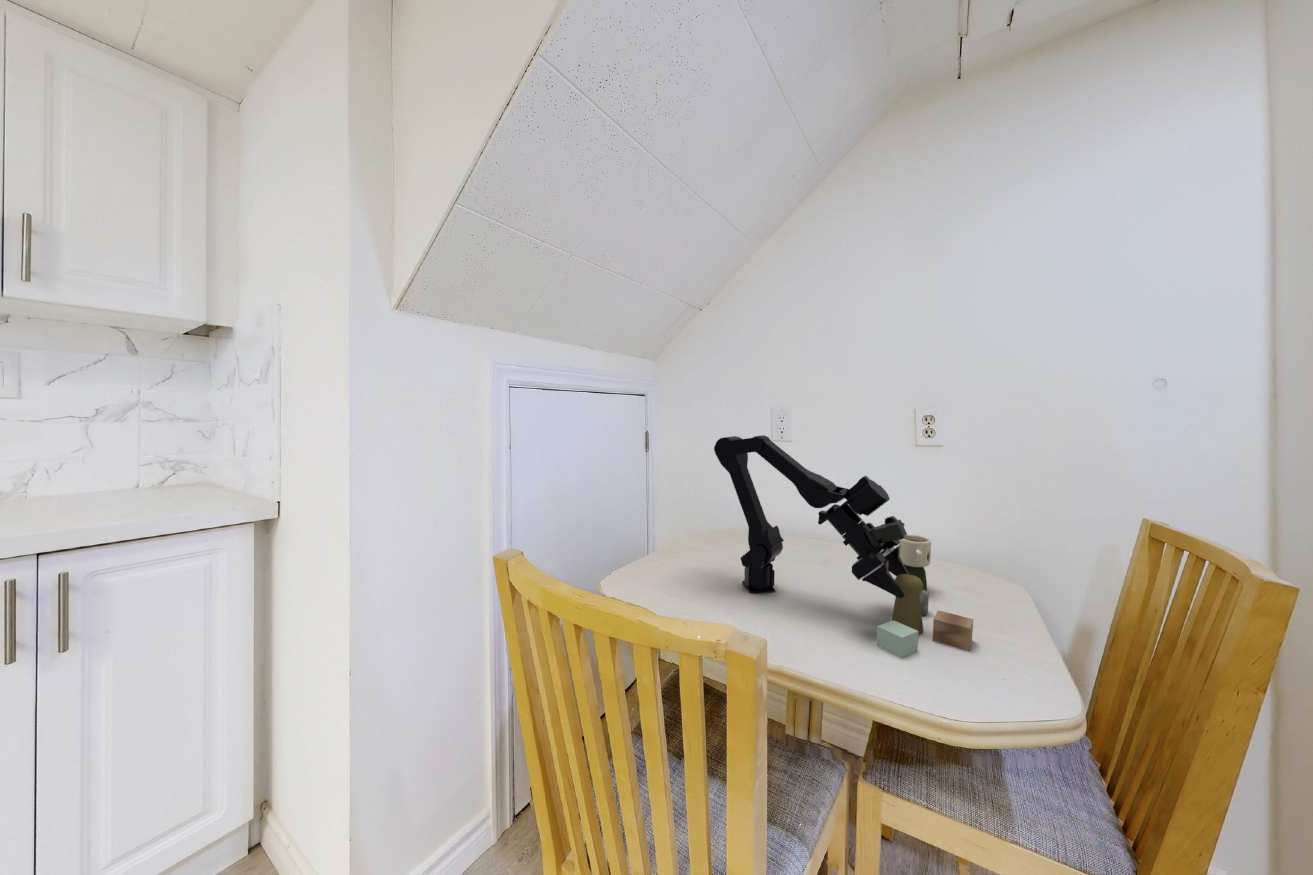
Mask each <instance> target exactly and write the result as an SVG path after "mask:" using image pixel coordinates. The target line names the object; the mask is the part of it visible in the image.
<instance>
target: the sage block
mask: <svg viewBox="0 0 1313 875" xmlns="http://www.w3.org/2000/svg"><path fill="white" fill-rule="evenodd" d="M918 645H919V635H918V631H917V630H915V629H912V628H910V627H908V626H906V625H903V624H901V623H899V622H896V621H894V620H892V621H891V620H890V621H888V622H885V623H882V624H880V625H877V626H876V646H877V647H878V648H880V647H881V648H880V649H883V650H885V651H886V650H887V651H886V652H888V653H890V654H892V655H894V656H896V657H897V658H901V659H902V658H905V657H908V656H909V655H911V654H914V653H916V652H918Z"/></svg>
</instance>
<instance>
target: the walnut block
mask: <svg viewBox="0 0 1313 875" xmlns="http://www.w3.org/2000/svg"><path fill="white" fill-rule="evenodd" d="M932 624H933V625H932V641H933V642H936V643H939V644H943V645H946V646H949V647H954V648H957V649H960V650H964V651H967V652H970V650H971V647H972V646H971V645H972V642H973V631H974V630H973V629H974V628H973V627H974V618H970V617H966V616H963V615H958V614H955V613H950V612H947V611H943V610H939V609H937V611H936V613H935V615H934V617H933V623H932Z"/></svg>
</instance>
